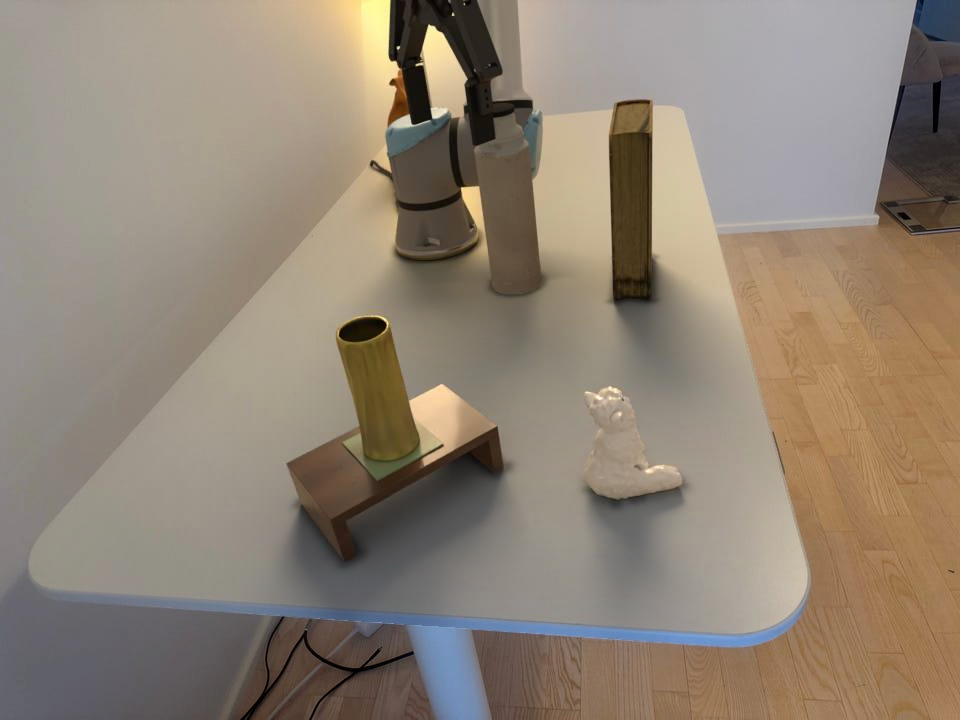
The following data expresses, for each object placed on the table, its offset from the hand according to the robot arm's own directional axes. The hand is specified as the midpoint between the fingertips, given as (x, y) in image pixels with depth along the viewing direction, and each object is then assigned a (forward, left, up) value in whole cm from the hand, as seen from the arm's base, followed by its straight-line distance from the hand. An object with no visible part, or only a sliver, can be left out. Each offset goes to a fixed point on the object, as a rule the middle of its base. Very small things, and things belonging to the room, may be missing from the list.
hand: (451, 131), depth 86 cm
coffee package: (-74, +33, -30) cm, 86 cm away
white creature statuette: (+33, -6, -30) cm, 45 cm away
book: (+2, +28, -30) cm, 41 cm away
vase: (+17, -24, -24) cm, 38 cm away
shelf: (+17, -24, -30) cm, 42 cm away
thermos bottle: (-11, +14, -30) cm, 35 cm away
